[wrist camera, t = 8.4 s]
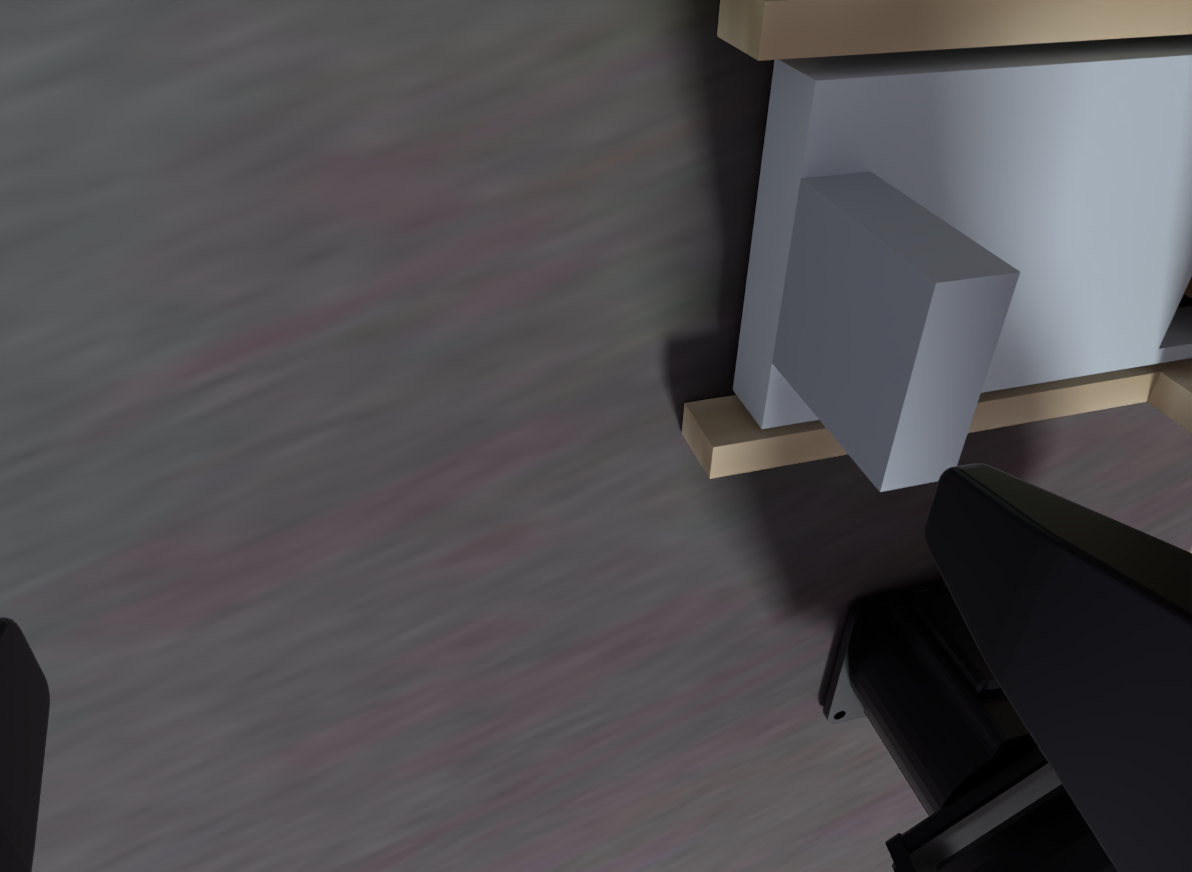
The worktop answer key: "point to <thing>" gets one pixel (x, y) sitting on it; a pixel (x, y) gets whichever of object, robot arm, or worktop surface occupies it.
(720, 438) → the board
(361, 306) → the worktop surface
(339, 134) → the worktop surface
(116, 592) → the worktop surface
